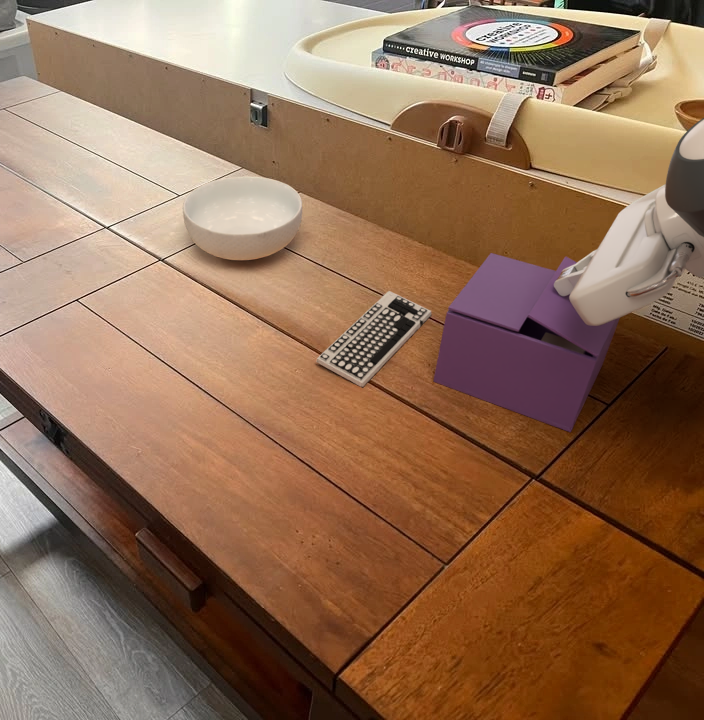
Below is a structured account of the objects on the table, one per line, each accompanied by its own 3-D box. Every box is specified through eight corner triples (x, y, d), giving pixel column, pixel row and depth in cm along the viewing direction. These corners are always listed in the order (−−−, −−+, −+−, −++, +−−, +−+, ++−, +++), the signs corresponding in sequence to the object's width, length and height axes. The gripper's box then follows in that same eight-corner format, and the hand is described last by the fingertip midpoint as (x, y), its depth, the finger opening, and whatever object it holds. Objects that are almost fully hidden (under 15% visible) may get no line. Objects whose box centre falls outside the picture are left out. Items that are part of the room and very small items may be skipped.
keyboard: (362, 387, 85) (364, 377, 84) (315, 366, 88) (316, 356, 87) (431, 315, 95) (433, 304, 94) (387, 298, 98) (388, 288, 97)
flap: (627, 293, 81) (629, 291, 80) (596, 357, 73) (598, 355, 72) (564, 258, 83) (565, 256, 82) (527, 316, 74) (528, 314, 74)
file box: (602, 365, 87) (629, 291, 80) (570, 432, 79) (598, 355, 72) (474, 324, 94) (490, 252, 87) (433, 381, 85) (447, 307, 79)
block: (576, 377, 85) (588, 345, 82) (565, 399, 82) (576, 367, 79) (536, 363, 87) (545, 331, 84) (523, 385, 84) (532, 353, 81)
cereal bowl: (187, 219, 116) (185, 176, 112) (296, 216, 116) (298, 173, 112) (182, 279, 103) (179, 233, 99) (305, 277, 103) (307, 231, 98)
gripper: (699, 309, 61) (546, 362, 72) (736, 207, 74) (602, 264, 85) (657, 246, 60) (509, 308, 71) (702, 154, 73) (571, 218, 84)
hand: (560, 284), depth 78 cm, fingers closed
